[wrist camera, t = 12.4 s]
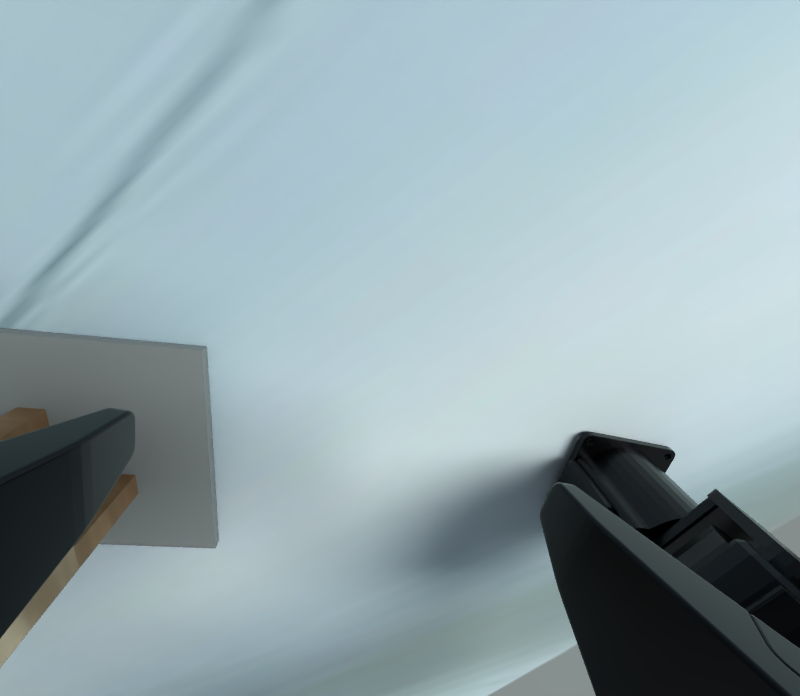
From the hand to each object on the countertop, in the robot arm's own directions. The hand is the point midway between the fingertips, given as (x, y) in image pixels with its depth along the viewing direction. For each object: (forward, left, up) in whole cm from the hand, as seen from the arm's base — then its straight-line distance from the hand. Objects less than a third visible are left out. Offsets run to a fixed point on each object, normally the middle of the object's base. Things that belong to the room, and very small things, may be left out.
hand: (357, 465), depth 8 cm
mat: (+14, +12, -13) cm, 23 cm away
